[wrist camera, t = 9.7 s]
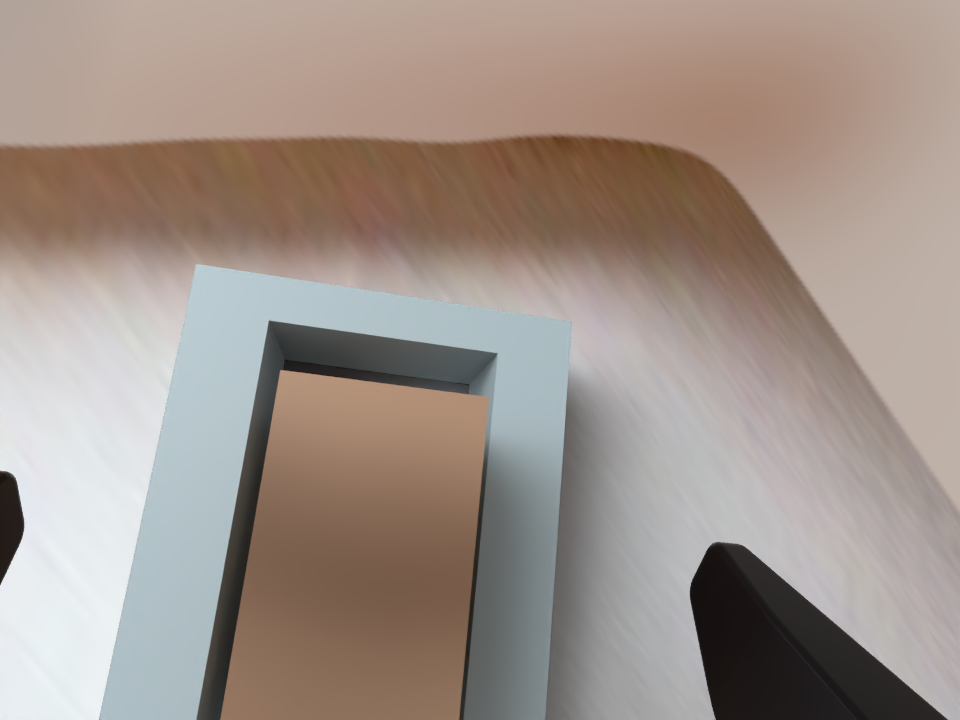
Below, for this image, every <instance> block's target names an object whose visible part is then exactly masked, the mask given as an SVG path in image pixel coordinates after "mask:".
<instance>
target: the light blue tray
mask: <svg viewBox="0 0 960 720" xmlns="http://www.w3.org/2000/svg"><path fill="white" fill-rule="evenodd" d="M571 327H572V322H571V321H564V320H558V319H551V318H545V317H538V316H532V315H525V314H519V313H512V312H506V311H499V310H493V309H486V308H480V307H473V306H467V305H460V304H454V303H447V302H441V301H434V300H428V299H421V298H414V297H408V296H401V295H395V294H388V293H382V292H375V291H369V290H362V289H356V288H349V287H343V286H336V285H330V284H323V283H317V282H310V281H304V280H297V279H291V278H284V277H278V276H271V275H265V274H258V273H252V272H245V271H239V270H232V269H226V268H219V267H213V266H206V265H200V264H196V268H195V272H194V277H193V282H192V287H191V291H190V296H189V301H188V305H187V310H186V315H185V319H184V324H183V329H182V333H181V338H180V343H179V347H178V352H177V357H176V361H175V366H174V371H173V375H172V380H171V385H170V389H169V394H168V399H167V403H166V408H165V413H164V417H163V422H162V427H161V431H160V436H159V441H158V446H157V450H156V455H155V460H154V464H153V469H152V474H151V478H150V483H149V488H148V492H147V497H146V502H145V506H144V511H143V516H142V520H141V525H140V530H139V534H138V539H137V544H136V548H135V553H134V558H133V562H132V567H131V572H130V576H129V581H128V586H127V590H126V595H125V600H124V605H123V609H122V614H121V619H120V623H119V628H118V633H117V637H116V642H115V647H114V651H113V656H112V661H111V665H110V670H109V675H108V679H107V684H106V689H105V693H104V698H103V703H102V707H101V712H100V717H99V720H220V719H221V713H222V707H223V701H224V695H225V689H226V684H227V678H228V672H229V666H230V660H231V654H232V649H233V643H234V637H235V631H236V625H237V619H238V614H239V608H240V602H241V596H242V590H243V585H244V579H245V573H246V567H247V561H248V555H249V550H250V544H251V538H252V532H253V526H254V520H255V515H256V509H257V503H258V497H259V491H260V485H261V480H262V474H263V468H264V462H265V456H266V450H267V445H268V439H269V433H270V427H271V421H272V415H273V410H274V404H275V398H276V392H277V386H278V380H279V375H280V370H283V368H284V362H285V360H291V361H299V362H306V363H313V364H321V365H328V366H336V367H343V368H350V369H358V370H365V371H373V372H380V373H388V374H395V375H402V376H410V377H417V378H425V379H432V380H440V381H447V382H454V383H462V384H469V392H468V394H469V395H477V396H485V397H489V404H488V415H487V426H486V436H485V447H484V458H483V469H482V479H481V490H480V501H479V512H478V522H477V533H476V544H475V554H474V565H473V576H472V587H471V597H470V608H469V619H468V629H467V640H466V651H465V662H464V672H463V683H462V694H461V705H460V715H459V720H545V716H546V701H547V686H548V671H549V656H550V641H551V626H552V611H553V596H554V581H555V566H556V551H557V536H558V521H559V506H560V491H561V476H562V461H563V446H564V431H565V416H566V401H567V386H568V372H569V357H570V342H571Z"/></svg>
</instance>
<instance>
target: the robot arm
mask: <svg viewBox="0 0 960 720" xmlns="http://www.w3.org/2000/svg"><path fill="white" fill-rule="evenodd" d="M23 532H24V517H23V512H22V507H21V501H20V496H19V491H18V485H17V481H16V478H15V477H14V476H13V475H12V474H11V473H9V472H6V471H0V585H1V583H2V581H3V578H4V576H5V574H6V572H7V570H8V568H9V566H10V564H11V561H12V559H13V557H14V555H15V553H16V551H17V549H18V547H19V544H20V542H21V540H22V536H23ZM690 600H691V605H692V611H693V616H694V621H695V626H696V631H697V636H698V641H699V646H700V651H701V656H702V661H703V666H704V671H705V676H706V681H707V686H708V691H709V695H710V700H711V704H712V708H713V711H714V715H715V718H716V720H947V719H946V718H945V717H944V716H943V715H942V714H940V713H939V712H938V711H937V710H936V709H935V708H933V707H932V706H931V705H930V704H929V703H928V702H926V701H925V700H924V699H923V698H922V697H921V696H919V695H918V694H917V693H916V692H915V691H913V690H912V689H911V688H910V687H909V686H908V685H906V684H905V683H904V682H903V681H902V680H901V679H899V678H898V677H897V676H896V675H895V674H894V673H892V672H891V671H890V670H889V669H888V668H887V667H885V666H884V665H883V664H882V663H881V662H879V661H878V660H877V659H876V658H875V657H874V656H872V655H871V654H870V653H869V652H868V651H867V650H865V649H864V648H863V647H862V646H861V645H860V644H858V643H857V642H856V641H855V640H854V639H853V638H851V637H850V636H849V635H848V634H847V633H845V632H844V631H843V630H842V629H841V628H840V627H838V626H837V625H836V624H835V623H834V622H833V621H831V620H830V619H829V618H828V617H827V616H826V615H824V614H823V613H822V612H821V611H820V610H819V609H817V608H816V607H815V606H814V605H813V604H811V603H810V602H809V601H808V600H807V599H806V598H804V597H803V596H802V595H801V594H800V593H799V592H797V591H796V590H795V589H794V588H793V587H792V586H790V585H789V584H788V583H787V582H786V581H785V580H783V579H782V578H781V577H780V576H779V575H777V574H776V573H775V572H774V571H773V570H772V569H770V568H769V567H768V566H767V565H766V564H765V563H763V562H762V561H761V560H760V559H759V558H758V557H756V556H755V555H754V554H753V553H752V552H751V551H749V550H748V549H747V548H746V547H744V546H742V545H739V544H733V543H723V542H716V543H713V544H712V545H710V546H709V548H708V549H707V551H706V553H705V555H704V557H703V559H702V561H701V564H700V566H699V568H698V570H697V572H696V574H695V576H694V578H693V580H692V582H691V587H690Z"/></svg>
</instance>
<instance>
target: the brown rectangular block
mask: <svg viewBox="0 0 960 720" xmlns="http://www.w3.org/2000/svg"><path fill="white" fill-rule="evenodd" d="M488 404H489V397H485V396H477V395H469V394H462V393H454V392H446V391H439V390H431V389H423V388H416V387H408V386H400V385H393V384H385V383H377V382H369V381H362V380H354V379H346V378H339V377H331V376H323V375H316V374H308V373H300V372H293V371H285V370H280V375H279V380H278V386H277V392H276V398H275V404H274V410H273V415H272V421H271V427H270V433H269V439H268V445H267V450H266V456H265V462H264V468H263V474H262V480H261V485H260V491H259V497H258V503H257V509H256V515H255V520H254V526H253V532H252V538H251V544H250V550H249V555H248V561H247V567H246V573H245V579H244V585H243V590H242V596H241V602H240V608H239V614H238V619H237V625H236V631H235V637H234V643H233V649H232V654H231V660H230V666H229V672H228V678H227V684H226V689H225V695H224V701H223V707H222V713H221V719H220V720H459V715H460V705H461V694H462V683H463V672H464V662H465V651H466V640H467V629H468V619H469V608H470V597H471V587H472V576H473V565H474V554H475V544H476V533H477V522H478V512H479V501H480V490H481V479H482V469H483V458H484V447H485V436H486V426H487V415H488Z"/></svg>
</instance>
